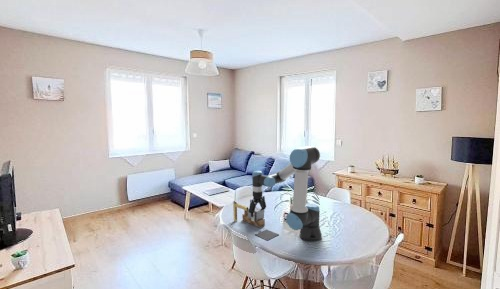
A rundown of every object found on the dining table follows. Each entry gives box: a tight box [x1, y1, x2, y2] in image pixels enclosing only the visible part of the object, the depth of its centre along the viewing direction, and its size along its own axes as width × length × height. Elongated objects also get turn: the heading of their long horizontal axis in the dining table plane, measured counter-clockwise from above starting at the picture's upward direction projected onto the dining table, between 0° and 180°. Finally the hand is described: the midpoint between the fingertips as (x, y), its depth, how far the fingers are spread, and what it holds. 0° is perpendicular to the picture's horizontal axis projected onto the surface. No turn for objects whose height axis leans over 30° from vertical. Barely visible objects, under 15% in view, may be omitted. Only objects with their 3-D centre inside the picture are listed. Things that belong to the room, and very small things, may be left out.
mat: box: [254, 229, 279, 241], centre depth 189 cm, size 12×12×1 cm
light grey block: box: [248, 206, 265, 221], centre depth 208 cm, size 10×8×7 cm
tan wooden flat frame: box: [232, 200, 249, 222], centre depth 209 cm, size 16×3×16 cm, turn 44°
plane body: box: [241, 210, 266, 228], centre depth 210 cm, size 20×5×9 cm, turn 44°
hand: (257, 218), depth 207 cm, fingers open, 10 cm apart
